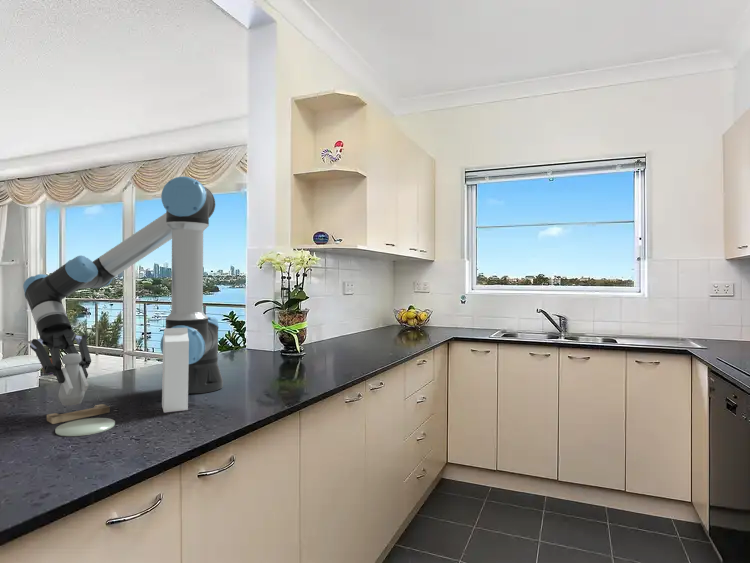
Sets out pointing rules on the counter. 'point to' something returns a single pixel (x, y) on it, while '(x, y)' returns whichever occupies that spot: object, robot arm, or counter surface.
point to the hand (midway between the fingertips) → (77, 390)
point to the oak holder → (78, 414)
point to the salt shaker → (72, 381)
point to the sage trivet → (85, 427)
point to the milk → (175, 369)
